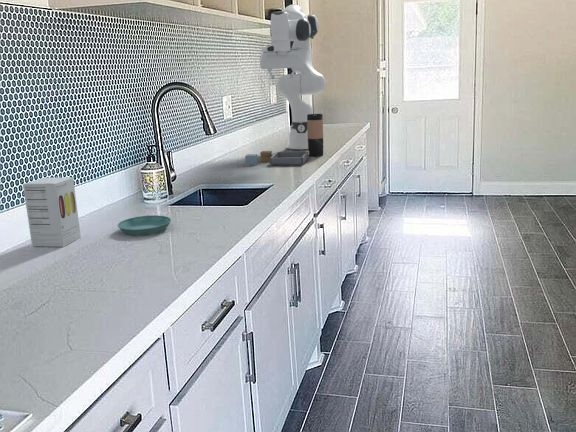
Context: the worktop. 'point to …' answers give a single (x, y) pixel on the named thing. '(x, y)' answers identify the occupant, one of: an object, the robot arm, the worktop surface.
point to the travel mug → (315, 134)
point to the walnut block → (266, 156)
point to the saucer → (144, 225)
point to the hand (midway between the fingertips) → (282, 78)
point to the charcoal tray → (289, 158)
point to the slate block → (251, 159)
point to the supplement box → (52, 211)
